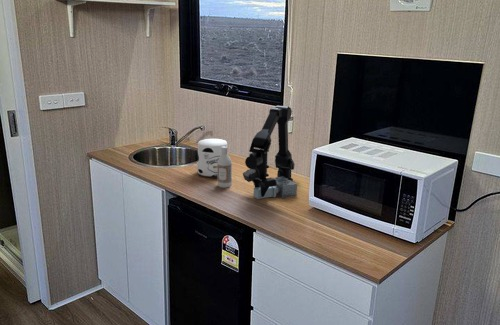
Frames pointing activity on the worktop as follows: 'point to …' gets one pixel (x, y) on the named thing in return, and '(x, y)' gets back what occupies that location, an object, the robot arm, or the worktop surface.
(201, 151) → the milk container
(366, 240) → the worktop surface
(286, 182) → the block
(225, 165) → the bath foam
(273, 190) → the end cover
